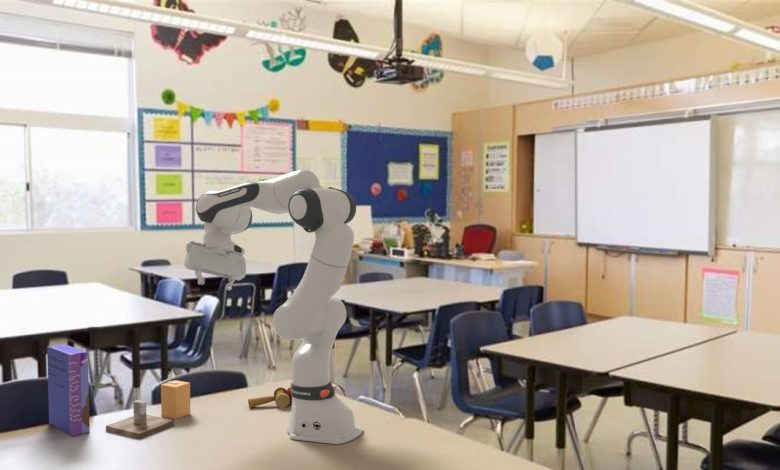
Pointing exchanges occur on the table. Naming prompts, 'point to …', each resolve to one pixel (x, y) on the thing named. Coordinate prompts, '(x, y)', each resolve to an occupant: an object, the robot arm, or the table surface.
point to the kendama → (274, 398)
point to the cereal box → (68, 389)
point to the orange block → (175, 399)
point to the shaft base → (138, 428)
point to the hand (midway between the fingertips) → (215, 286)
